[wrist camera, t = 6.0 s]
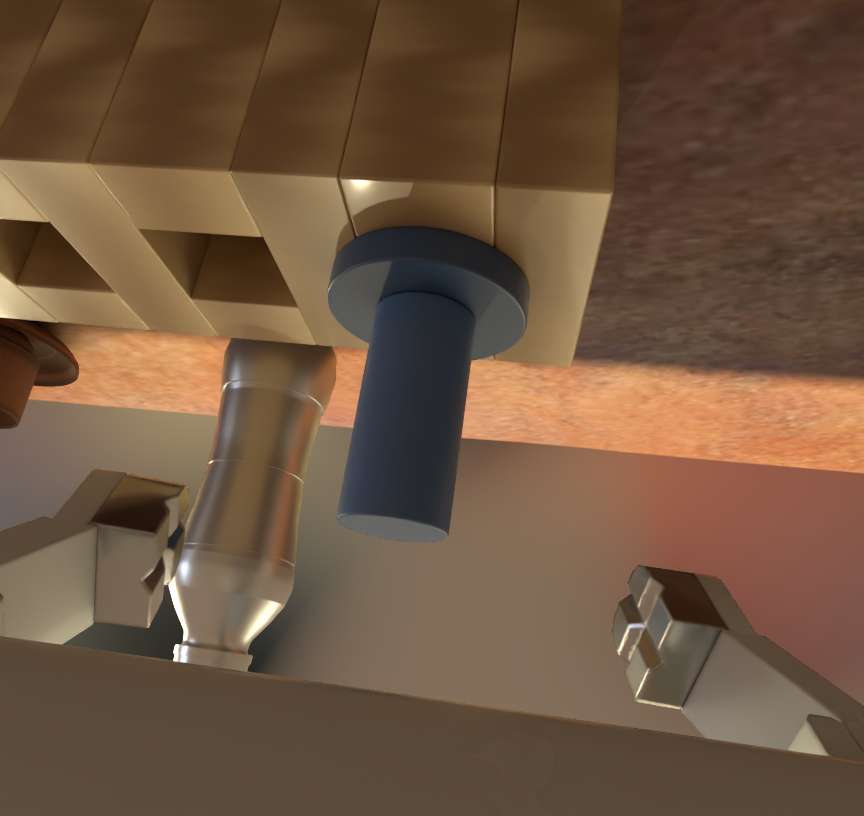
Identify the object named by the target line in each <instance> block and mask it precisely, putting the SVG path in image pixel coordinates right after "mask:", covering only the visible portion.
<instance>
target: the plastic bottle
mask: <svg viewBox="0 0 864 816" xmlns="http://www.w3.org/2000/svg"><path fill="white" fill-rule="evenodd" d="M335 382H336V356H335V353H334V351H333V348H332V346H322V345H317V344H316V345H310V344H299V343H287V342H276V341H264V340H253V339H241V338H231V340H230V343H229V345H228V347H227V349H226V351H225V354H224V360H223V368H222V376H221V391H222V396H221V400H220V406H219V412H218V418H217V424H216V430H215V436H214V441H213V447H212V451H211V455H210V457H209V460H208V464H207V466H208V468H207V471H206V472H205V473H204V476H203V479H202V483H201V486H200V489H199V492H198V495H197V498H196V501H195V504H194V506H193V509H192V511H191V513H190V515H189V518H188V520H187V523H186V525H185V529H186V530H185V539H184V545H183V550H182V555H181V558H180V561H179V565H178V568H177V571H176V573H175V575H174V577H173V579H172V582H171V583H169V589H170V592H171V596H172V600H173V603H174V607H175V609H176V612H177V614H178V617H179V619H180V622H181V624H182V627H183V629H184V638H183V642H182V644H181V645H175V648H174V652H173V653H174V654H175V657H174V660H173V661H177V662H184V663H191V664H198V665H205V666H212V667H219V668H225V669H232V670H239V671H246V672H247V670H248V665H249V664H251V661H252V656H250V655H248V653H247V652H248V648H249V645H250V643H251V641H252V640H253V639H254V638H255V637H256V636H257V635H258V634H259V633H260V632H261V631H262V630H263V629H264V628H265V627H266V626H267V625H268V624H270V623H271V621H272V620H273V619H274V618H275V617H276V616H277V614H278V613H279V612H280V611H281V610H282V609H283V608H284V606H285V604H286V602H287V600H288V598H289V596H290V594H291V592H292V589H293V582H294V575H295V572H294V567H295V560H296V545H297V530H298V517H299V512H300V505H301V499H302V491H301V490H302V486H304V479H305V473H306V468H307V464H308V461H309V458H310V454H311V451H312V447H313V444H314V441H315V437H316V434H317V430H318V427H319V424H320V420H321V417H322V415H323V414H324V412H325V410H326V408H327V405H328V403H329V400H330V397H331V394H332V391H333V389H334V386H335Z"/></svg>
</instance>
